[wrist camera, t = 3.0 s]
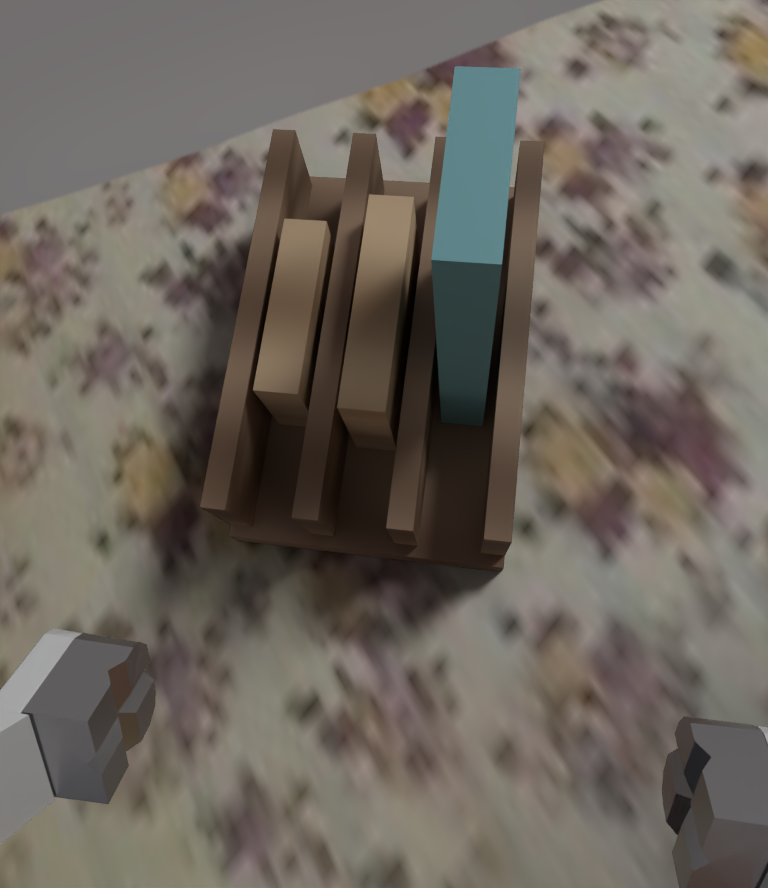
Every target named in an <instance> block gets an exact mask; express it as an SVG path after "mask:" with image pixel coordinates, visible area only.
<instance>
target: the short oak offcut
mask: <svg viewBox="0 0 768 888" xmlns="http://www.w3.org/2000/svg"><path fill="white" fill-rule="evenodd" d="M419 265H420V258H419V247H418V236H417V225H416V214H415V203H414V197H407V196H389V195H371V194H369V199H368V205H367V212H366V219H365V225H364V232H363V239H362V245H361V252H360V258H359V265H358V272H357V278H356V285H355V292H354V298H353V305H352V312H351V318H350V325H349V331H348V338H347V345H346V351H345V358H344V365H343V371H342V378H341V385H340V391H339V398H338V404H337V408H338V410H339V413H340V415H341V417H342V419H343V421H344V423H345V425H346V427H347V429H348V431H349V433H350V435H351V437H352V439H353V441H354V443H355V445H356V447H360V448H370V449H380V450H390V451H396V446H397V438H398V430H399V422H400V414H401V406H402V399H403V391H404V383H405V375H406V367H407V359H408V351H409V343H410V335H411V328H412V320H413V312H414V304H415V296H416V288H417V280H418V272H419Z"/></svg>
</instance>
